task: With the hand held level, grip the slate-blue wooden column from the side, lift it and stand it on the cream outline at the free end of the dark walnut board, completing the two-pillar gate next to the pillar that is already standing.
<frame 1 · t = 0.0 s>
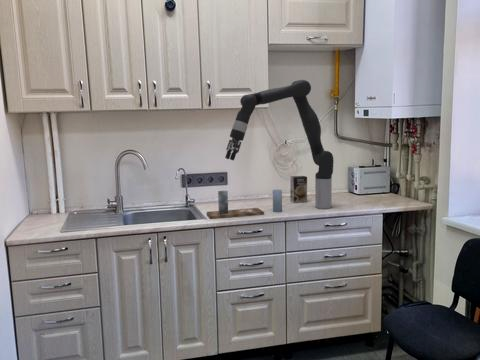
hand: (229, 159, 233), 31 cm above the worktop, tool tilted 20°, fingers open, 8 cm apart
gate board: (235, 214, 243), on the worktop
coffee box: (298, 202, 274), on the worktop
column: (277, 211, 248), on the worktop
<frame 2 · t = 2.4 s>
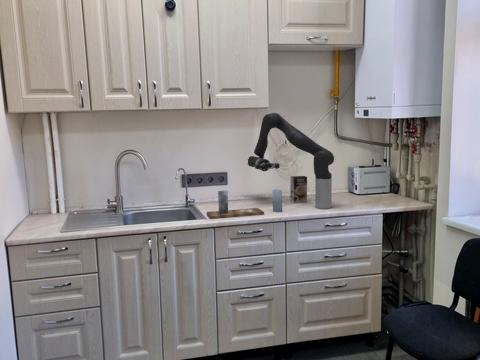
hand: (270, 167, 255), 24 cm above the worktop, tool horizontal, fingers open, 8 cm apart
nothing on the worktop moved.
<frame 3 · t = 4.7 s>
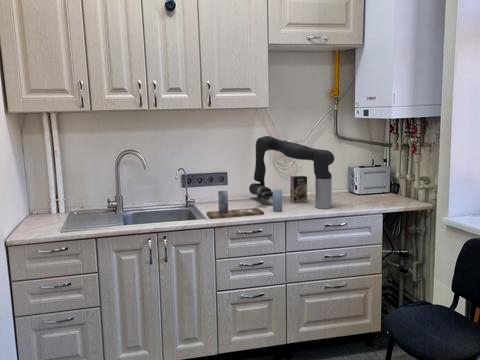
hand: (272, 196, 256), 7 cm above the worktop, tool horizontal, fingers open, 8 cm apart
nothing on the worktop moved.
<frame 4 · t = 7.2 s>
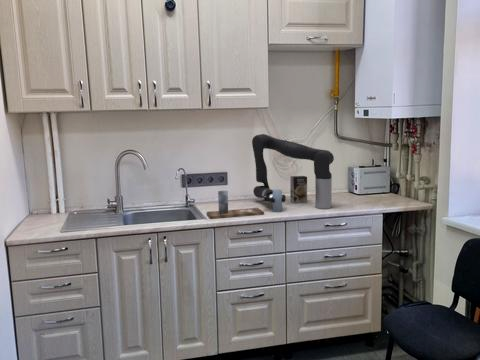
hand: (278, 200, 245), 7 cm above the worktop, tool horizontal, fingers closed on column, 5 cm apart
column: (277, 211, 248), on the worktop, touching gripper
everything else where it was.
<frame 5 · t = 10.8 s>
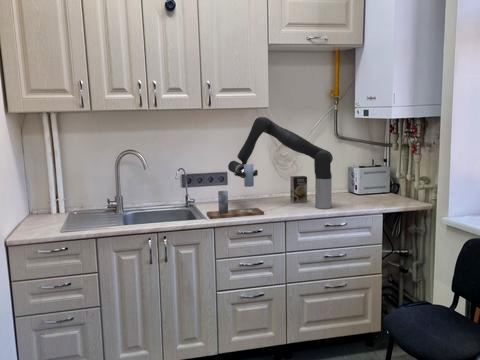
hand: (250, 174, 239), 22 cm above the worktop, tool horizontal, fingers closed on column, 5 cm apart
column: (249, 185, 243), point 15 cm above the worktop, touching gripper
everything else where it was.
when the fingers open (10 cm above the worktop, at t = 14.5 s): column drops 1 cm, resting on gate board.
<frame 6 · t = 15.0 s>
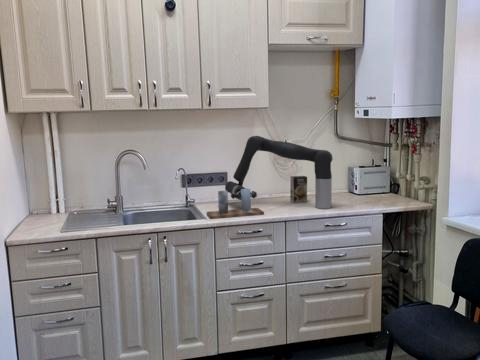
hand: (246, 196, 241), 10 cm above the worktop, tool horizontal, fingers open, 8 cm apart
column: (246, 210, 244), point 2 cm above the worktop, touching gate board
everything else where it was.
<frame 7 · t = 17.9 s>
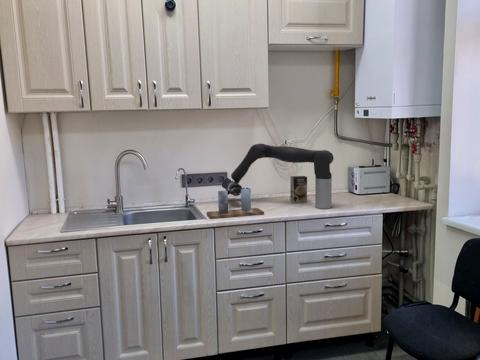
hand: (241, 193, 253), 10 cm above the worktop, tool horizontal, fingers open, 8 cm apart
nothing on the worktop moved.
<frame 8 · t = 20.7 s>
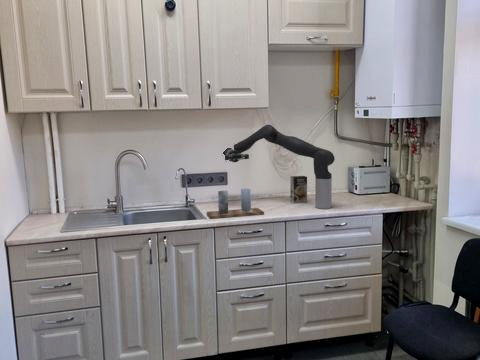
hand: (239, 157, 255), 30 cm above the worktop, tool horizontal, fingers open, 8 cm apart
nothing on the worktop moved.
at the end: column 0.1 cm from the target spot on the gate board, point 1.7 cm above the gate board's base; column tilted 0°; the gripper is holding nothing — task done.
